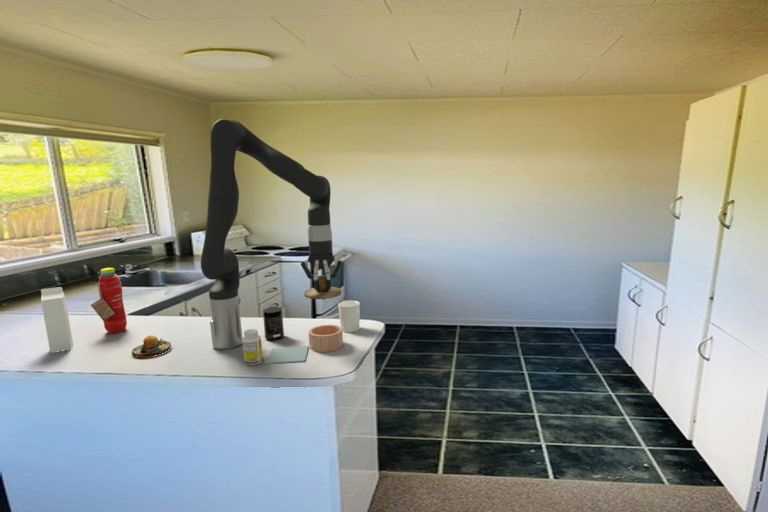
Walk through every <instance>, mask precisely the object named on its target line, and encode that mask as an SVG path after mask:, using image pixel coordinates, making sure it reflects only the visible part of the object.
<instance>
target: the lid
mask: <svg viewBox="0 0 768 512" xmlns="http://www.w3.org/2000/svg"><path fill="white" fill-rule="evenodd" d="M326 280H327V277H326V274H325V275H322V274H321V275H318V288H319V291H316V290H315V289H314V287H311V288H308V289H306V290H305V291H304V294H303V295H304V297H305V298H307V299H310V300H327V299H333V298H337V297H339V296H341V295H342V289H341V288H340V287H336V286H331V289H329V291H327V285H326Z"/></svg>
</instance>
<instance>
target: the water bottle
mask: <svg viewBox="0 0 768 512" xmlns="http://www.w3.org/2000/svg"><path fill="white" fill-rule="evenodd" d="M100 273H101V275H100V277H99V279H98V282H97V285H98V286H97V288H98V293H99V297H100V298H99V299H98V300H96V301H95V302H93V303H91V304H90V307H92V309H93V310H94V312H95V313H96V314H97V315H98V317H99V318H100V319H101V320H102V321H103V325H104V329H105V330H106V332H107V333H109V334H118V333H117V332H119V333H122V332H124V331H126V329H127V324H128V321H127V315H126V310H125V306H124V300H123V288H122V282H121V279H120V278H121V277H120V276H119V275H117V273H116V272H115V267H105V268H101V269H100ZM121 331H122V332H121Z"/></svg>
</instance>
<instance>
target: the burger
mask: <svg viewBox="0 0 768 512" xmlns="http://www.w3.org/2000/svg"><path fill="white" fill-rule="evenodd" d="M170 347H171V348H172V343H171V342H170V341H167V340H164V339H163V338H160V339H158V337H157V336H155V335H148V336H146V337H144V339H143V344H140V345H138V346H136V347H134V348H133V349H132V350H131V355H133V356H132V357H133V358H134V357H135V359H137V358H142V359H143V358H144V359H147V357H148V358H151V357H152V358H154V357H153V356H155V355H159V354H162V353H165V352H166V351H168V350H169V349H170ZM165 354H166V353H165ZM162 355H163V354H162Z"/></svg>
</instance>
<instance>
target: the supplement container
mask: <svg viewBox="0 0 768 512" xmlns="http://www.w3.org/2000/svg"><path fill="white" fill-rule="evenodd" d="M262 316H263V317H262V320H263V328H264V337H265V340H267V341H270V342H271V341H272V342H273V341H279V340H282V339H283V338H284V336H285V330H284V317H283V308H282V307H279V306H272V307H271V306H270V307H268V308H267V307H266V308H264V309H262Z"/></svg>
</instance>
